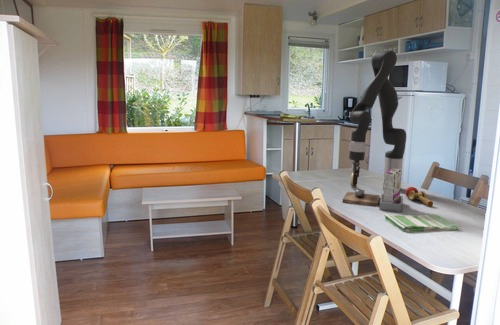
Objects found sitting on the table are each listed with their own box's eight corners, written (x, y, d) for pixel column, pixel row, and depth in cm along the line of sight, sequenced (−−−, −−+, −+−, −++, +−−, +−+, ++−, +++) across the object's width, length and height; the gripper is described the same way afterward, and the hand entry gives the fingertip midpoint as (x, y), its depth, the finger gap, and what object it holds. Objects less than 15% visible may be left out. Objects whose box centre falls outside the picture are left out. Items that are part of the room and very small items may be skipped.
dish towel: (460, 231, 156) (461, 225, 155) (404, 233, 152) (404, 227, 152) (433, 217, 173) (434, 211, 173) (382, 219, 170) (382, 212, 169)
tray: (402, 203, 192) (402, 196, 192) (402, 212, 178) (402, 204, 177) (381, 201, 196) (381, 194, 195) (379, 209, 181) (379, 202, 181)
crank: (365, 197, 195) (366, 179, 194) (356, 197, 195) (357, 179, 193) (356, 190, 209) (357, 173, 207) (348, 190, 208) (349, 173, 207)
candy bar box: (388, 201, 193) (391, 168, 190) (399, 203, 190) (402, 169, 187) (381, 207, 184) (384, 171, 181) (392, 208, 181) (395, 173, 178)
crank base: (379, 197, 202) (379, 194, 202) (377, 206, 187) (377, 202, 187) (346, 194, 207) (347, 191, 207) (342, 202, 193) (342, 199, 192)
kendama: (438, 209, 189) (415, 194, 206) (438, 196, 187) (415, 183, 203) (423, 212, 188) (401, 197, 204) (423, 200, 186) (401, 186, 202)
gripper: (366, 152, 196) (363, 187, 199) (363, 149, 210) (360, 181, 213) (351, 151, 197) (348, 186, 200) (348, 148, 211) (345, 180, 214)
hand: (354, 183), depth 206 cm, fingers closed on crank, 3 cm apart
